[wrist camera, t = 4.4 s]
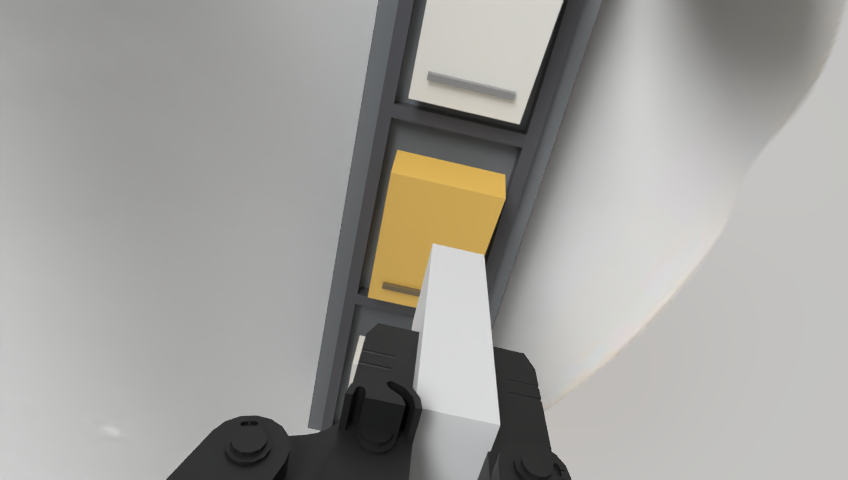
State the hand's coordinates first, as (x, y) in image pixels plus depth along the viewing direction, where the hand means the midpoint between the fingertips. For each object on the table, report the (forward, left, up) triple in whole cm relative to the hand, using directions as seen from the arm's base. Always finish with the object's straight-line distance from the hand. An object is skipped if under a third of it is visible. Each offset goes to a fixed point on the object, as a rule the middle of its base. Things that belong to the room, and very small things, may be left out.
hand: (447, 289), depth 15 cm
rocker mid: (+3, 0, -10) cm, 10 cm away
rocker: (-7, 0, -10) cm, 12 cm away
